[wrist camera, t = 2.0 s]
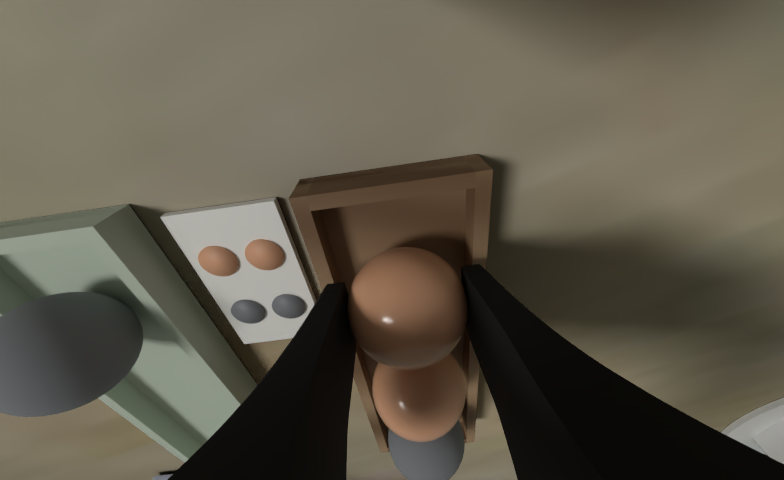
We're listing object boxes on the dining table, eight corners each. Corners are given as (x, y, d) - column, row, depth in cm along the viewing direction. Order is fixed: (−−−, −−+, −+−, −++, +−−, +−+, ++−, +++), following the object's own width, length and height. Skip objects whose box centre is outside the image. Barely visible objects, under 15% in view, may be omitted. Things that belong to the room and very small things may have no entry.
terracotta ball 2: (453, 364, 15) (476, 453, 12) (379, 374, 15) (380, 464, 12) (453, 313, 13) (480, 404, 10) (365, 324, 13) (362, 418, 10)
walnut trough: (467, 416, 19) (474, 441, 18) (380, 426, 20) (380, 452, 18) (477, 153, 9) (492, 169, 8) (299, 179, 10) (289, 198, 8)
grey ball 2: (454, 411, 18) (472, 493, 15) (391, 419, 18) (395, 502, 15) (453, 375, 16) (475, 462, 12) (382, 384, 16) (383, 473, 12)
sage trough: (366, 428, 20) (365, 454, 18) (210, 446, 20) (199, 473, 19) (270, 183, 10) (255, 203, 8) (-37, 228, 10) (-96, 253, 9)
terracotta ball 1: (452, 297, 12) (481, 388, 9) (361, 309, 12) (357, 403, 9) (451, 217, 10) (489, 298, 7) (341, 233, 10) (325, 319, 7)
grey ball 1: (184, 332, 13) (117, 432, 9) (98, 343, 13) (1, 446, 9) (127, 262, 10) (12, 359, 7) (23, 277, 11) (-137, 379, 7)
